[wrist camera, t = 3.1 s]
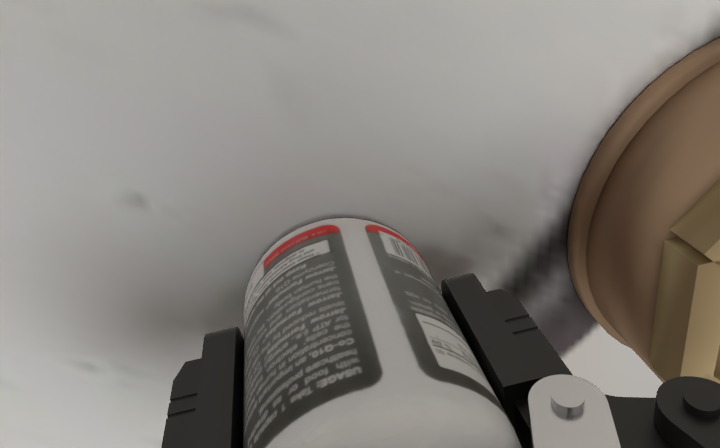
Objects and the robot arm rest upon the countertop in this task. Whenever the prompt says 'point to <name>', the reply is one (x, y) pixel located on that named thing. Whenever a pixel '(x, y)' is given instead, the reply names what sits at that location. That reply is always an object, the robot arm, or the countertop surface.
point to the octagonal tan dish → (657, 223)
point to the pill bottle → (359, 349)
